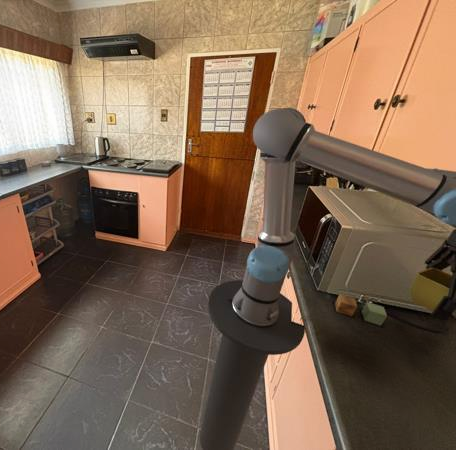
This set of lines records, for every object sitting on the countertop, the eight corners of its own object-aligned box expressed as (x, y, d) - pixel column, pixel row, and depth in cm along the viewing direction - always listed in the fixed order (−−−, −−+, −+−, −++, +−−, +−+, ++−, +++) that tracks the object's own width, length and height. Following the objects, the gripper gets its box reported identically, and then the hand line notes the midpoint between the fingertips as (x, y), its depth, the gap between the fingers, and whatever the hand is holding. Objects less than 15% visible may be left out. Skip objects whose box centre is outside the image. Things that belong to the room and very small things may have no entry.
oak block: (336, 311, 86) (341, 302, 84) (335, 303, 90) (339, 293, 88) (351, 316, 84) (357, 306, 82) (349, 307, 88) (354, 298, 86)
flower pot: (416, 290, 74) (433, 266, 70) (457, 311, 66) (477, 285, 62) (399, 298, 71) (415, 273, 66) (440, 321, 63) (460, 294, 59)
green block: (364, 320, 83) (370, 310, 81) (361, 311, 87) (367, 302, 85) (381, 325, 81) (387, 316, 79) (377, 316, 85) (383, 306, 83)
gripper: (538, 264, 47) (470, 341, 57) (473, 219, 66) (430, 282, 76) (483, 253, 51) (427, 327, 60) (435, 213, 69) (399, 274, 79)
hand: (429, 302), depth 68 cm, fingers closed on flower pot, 11 cm apart
